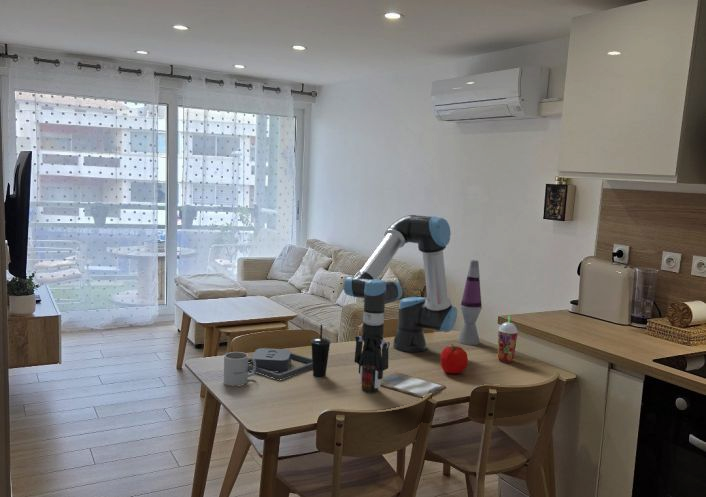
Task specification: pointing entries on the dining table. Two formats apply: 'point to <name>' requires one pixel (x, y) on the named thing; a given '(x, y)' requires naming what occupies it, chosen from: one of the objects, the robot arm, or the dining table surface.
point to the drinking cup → (320, 355)
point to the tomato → (453, 359)
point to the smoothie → (507, 341)
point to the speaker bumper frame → (288, 373)
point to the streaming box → (272, 359)
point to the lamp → (471, 306)
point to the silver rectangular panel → (410, 384)
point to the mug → (237, 368)
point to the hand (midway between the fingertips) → (370, 384)
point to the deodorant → (369, 371)
